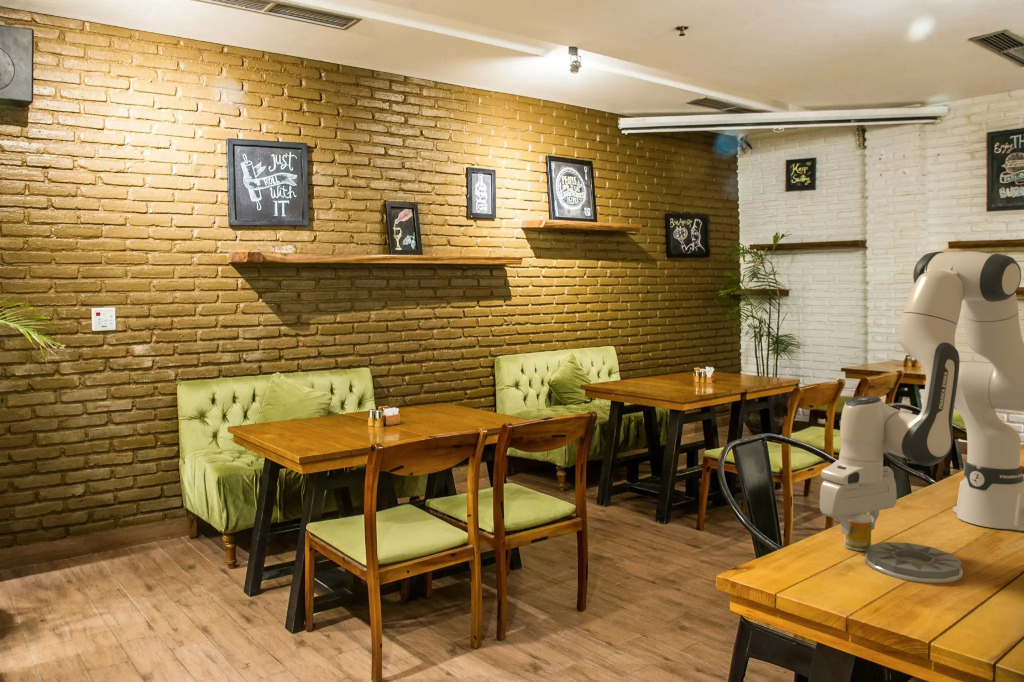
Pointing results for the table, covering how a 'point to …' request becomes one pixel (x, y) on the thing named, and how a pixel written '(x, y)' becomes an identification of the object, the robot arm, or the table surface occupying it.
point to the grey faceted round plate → (914, 562)
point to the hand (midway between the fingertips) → (857, 531)
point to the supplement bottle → (859, 532)
